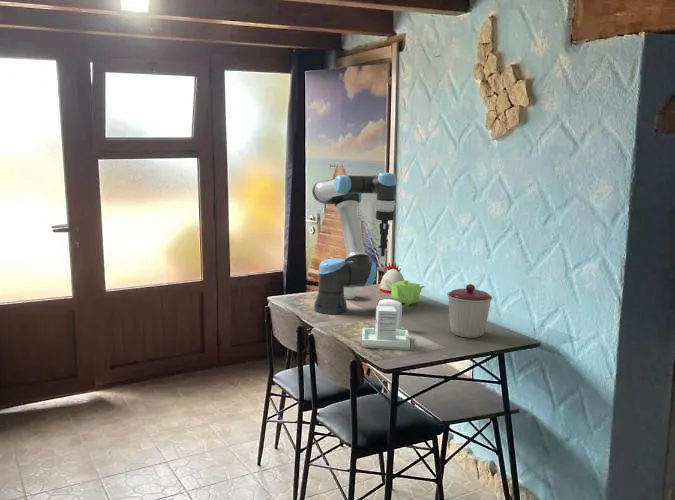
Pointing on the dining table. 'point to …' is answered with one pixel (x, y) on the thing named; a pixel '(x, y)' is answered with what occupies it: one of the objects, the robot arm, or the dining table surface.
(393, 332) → the supplement box
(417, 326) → the dining table surface
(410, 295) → the kettle
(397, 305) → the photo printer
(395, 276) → the kitchen timer
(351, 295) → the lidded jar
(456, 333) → the canister
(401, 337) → the tray
